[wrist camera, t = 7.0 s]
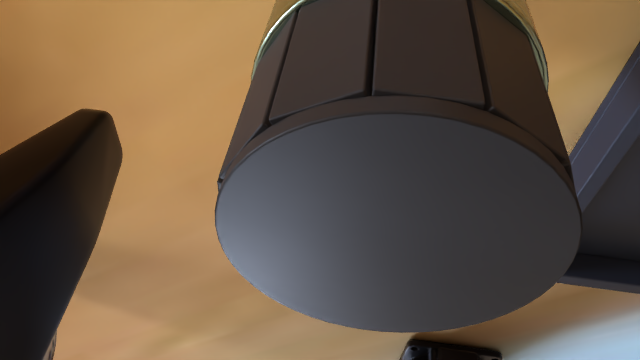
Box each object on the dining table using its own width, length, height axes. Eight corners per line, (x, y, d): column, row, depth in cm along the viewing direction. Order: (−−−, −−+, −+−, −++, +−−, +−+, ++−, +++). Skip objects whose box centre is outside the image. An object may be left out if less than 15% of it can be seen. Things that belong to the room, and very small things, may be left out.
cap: (484, 216, 11) (503, 350, 9) (258, 185, 11) (225, 311, 9) (593, 2, 7) (670, 145, 5) (253, -40, 7) (195, 83, 5)
